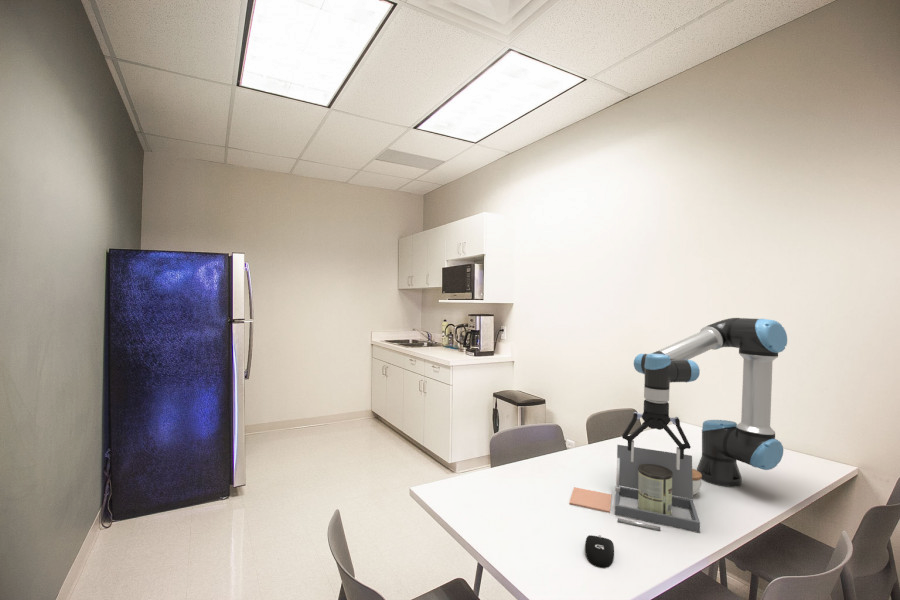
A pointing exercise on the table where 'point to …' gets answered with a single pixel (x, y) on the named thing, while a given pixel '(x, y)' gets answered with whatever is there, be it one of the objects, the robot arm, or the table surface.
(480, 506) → the table surface
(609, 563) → the computer mouse
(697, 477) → the lidded jar
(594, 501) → the pad
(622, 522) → the rod
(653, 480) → the coffee can
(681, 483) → the case
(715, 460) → the robot arm
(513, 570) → the table surface
